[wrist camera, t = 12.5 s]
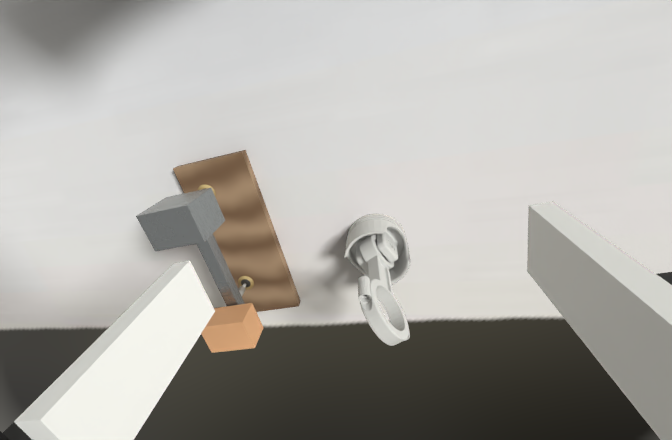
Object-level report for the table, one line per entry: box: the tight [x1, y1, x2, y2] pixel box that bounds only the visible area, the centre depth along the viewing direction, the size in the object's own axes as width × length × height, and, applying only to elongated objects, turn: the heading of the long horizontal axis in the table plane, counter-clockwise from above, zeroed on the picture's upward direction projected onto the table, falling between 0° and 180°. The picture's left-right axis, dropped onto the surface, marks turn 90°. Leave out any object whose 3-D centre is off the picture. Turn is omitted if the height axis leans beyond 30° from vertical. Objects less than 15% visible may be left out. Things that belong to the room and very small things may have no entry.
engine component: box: [344, 214, 410, 346], centre depth 44 cm, size 11×20×10 cm
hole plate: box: [173, 150, 300, 312], centre depth 55 cm, size 30×12×2 cm, turn 14°
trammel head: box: [201, 283, 263, 353], centre depth 51 cm, size 5×7×13 cm
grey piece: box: [136, 188, 245, 306], centre depth 48 cm, size 26×7×14 cm, turn 14°
